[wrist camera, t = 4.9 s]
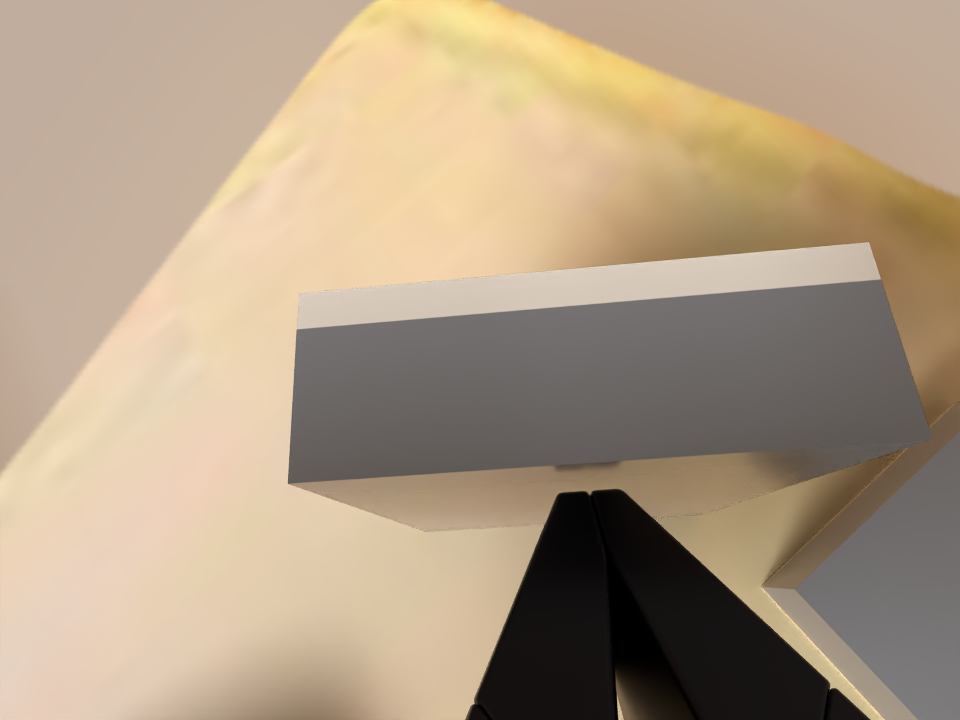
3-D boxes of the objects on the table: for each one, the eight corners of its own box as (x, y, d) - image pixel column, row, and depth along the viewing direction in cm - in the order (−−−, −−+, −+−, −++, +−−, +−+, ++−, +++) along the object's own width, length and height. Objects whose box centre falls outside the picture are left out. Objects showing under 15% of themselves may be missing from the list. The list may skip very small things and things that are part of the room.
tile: (702, 514, 15) (932, 439, 6) (425, 531, 15) (287, 483, 7) (685, 420, 15) (869, 242, 7) (424, 439, 16) (298, 293, 7)
